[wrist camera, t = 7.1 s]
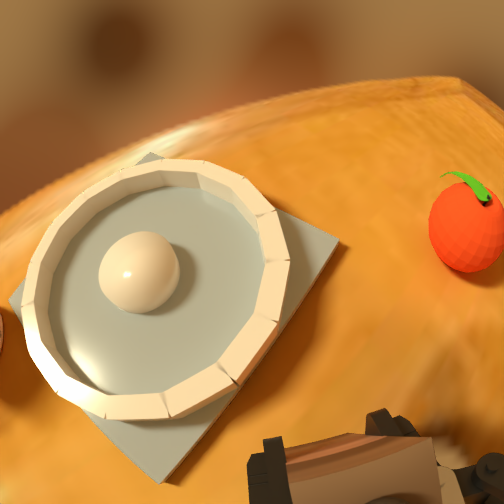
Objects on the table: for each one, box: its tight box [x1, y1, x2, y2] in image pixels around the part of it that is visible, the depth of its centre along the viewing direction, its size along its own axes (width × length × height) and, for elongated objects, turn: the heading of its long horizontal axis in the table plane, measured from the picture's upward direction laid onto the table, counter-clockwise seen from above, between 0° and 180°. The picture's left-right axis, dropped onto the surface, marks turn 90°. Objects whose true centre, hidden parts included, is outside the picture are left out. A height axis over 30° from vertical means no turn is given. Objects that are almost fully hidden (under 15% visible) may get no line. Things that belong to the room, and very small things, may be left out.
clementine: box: [429, 172, 504, 272], centre depth 19 cm, size 8×7×7 cm
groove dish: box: [8, 152, 340, 484], centre depth 21 cm, size 21×21×3 cm
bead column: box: [284, 433, 443, 504], centre depth 8 cm, size 3×3×11 cm
